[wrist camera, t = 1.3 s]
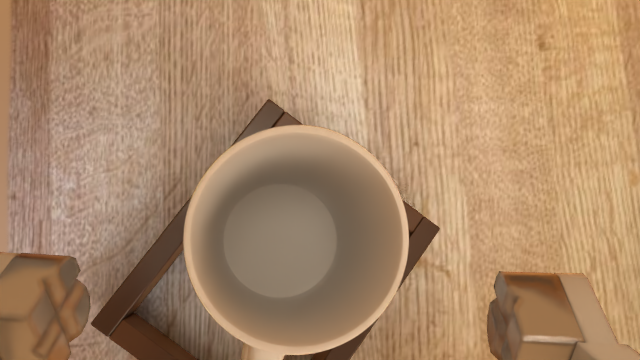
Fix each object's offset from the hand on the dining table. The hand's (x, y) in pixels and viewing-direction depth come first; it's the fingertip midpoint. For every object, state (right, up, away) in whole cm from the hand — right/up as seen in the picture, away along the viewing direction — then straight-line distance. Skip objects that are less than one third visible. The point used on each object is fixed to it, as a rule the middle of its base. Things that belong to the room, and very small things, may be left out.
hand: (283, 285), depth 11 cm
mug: (-2, -3, +17) cm, 18 cm away
